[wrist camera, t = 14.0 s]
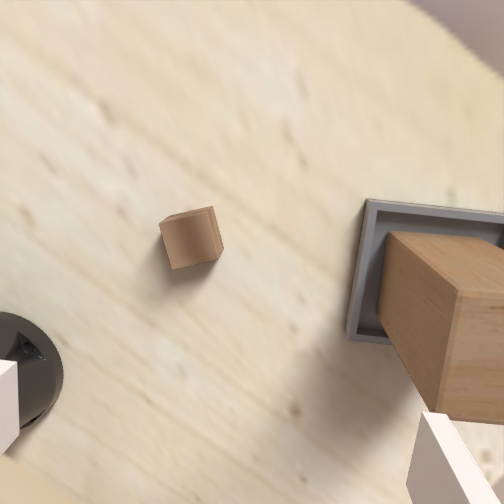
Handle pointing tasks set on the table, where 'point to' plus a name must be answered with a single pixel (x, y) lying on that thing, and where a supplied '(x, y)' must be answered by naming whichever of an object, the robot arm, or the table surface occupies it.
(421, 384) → the wooden block
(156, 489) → the table surface
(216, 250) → the walnut cube
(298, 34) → the table surface
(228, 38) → the table surface
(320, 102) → the table surface
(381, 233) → the tray
